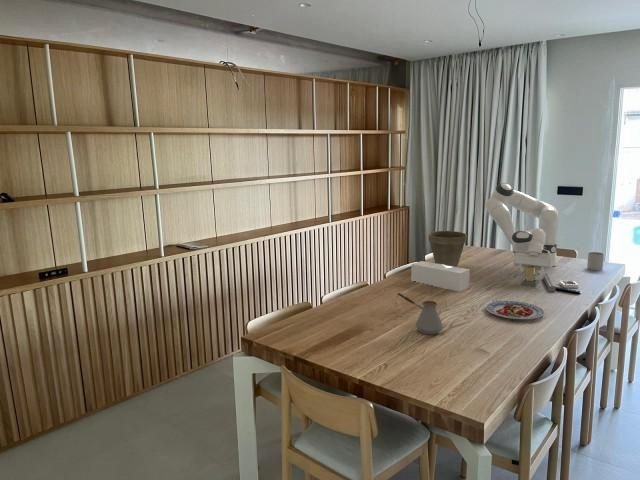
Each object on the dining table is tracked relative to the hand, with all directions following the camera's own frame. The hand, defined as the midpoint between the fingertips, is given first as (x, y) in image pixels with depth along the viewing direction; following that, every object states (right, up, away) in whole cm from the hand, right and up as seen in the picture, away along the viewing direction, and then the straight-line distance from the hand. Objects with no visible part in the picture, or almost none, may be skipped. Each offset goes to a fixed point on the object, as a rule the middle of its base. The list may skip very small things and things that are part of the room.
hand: (530, 273), depth 267 cm
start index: (+20, -7, -4) cm, 21 cm away
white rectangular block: (-50, -7, +6) cm, 51 cm away
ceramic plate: (-28, -16, -44) cm, 55 cm away
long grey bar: (+10, -7, -1) cm, 12 cm away
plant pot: (-34, +2, +49) cm, 60 cm away
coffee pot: (-77, -21, -61) cm, 100 cm away
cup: (+55, 0, +31) cm, 63 cm away
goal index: (+1, -6, +2) cm, 7 cm away
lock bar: (+1, -6, +2) cm, 7 cm away
